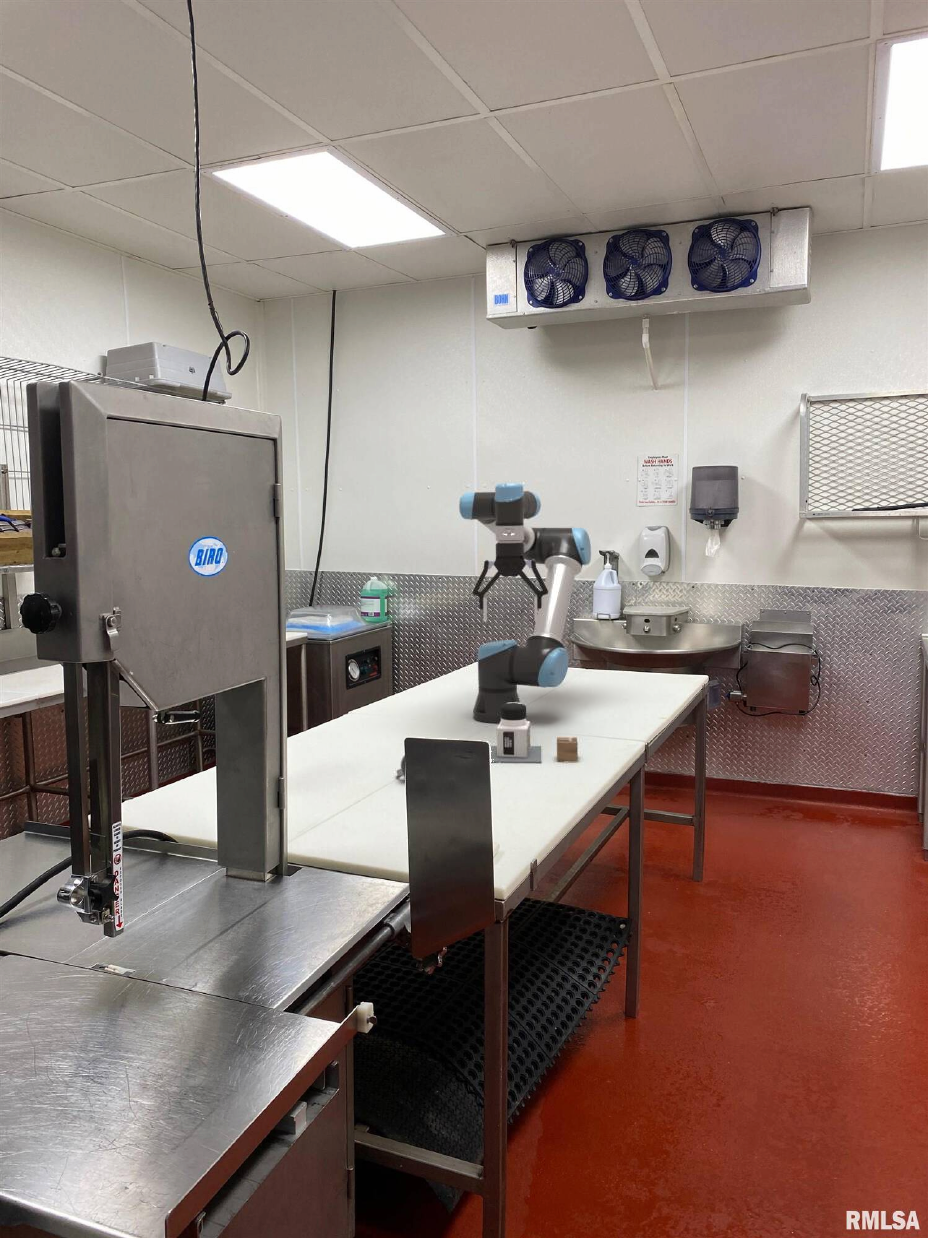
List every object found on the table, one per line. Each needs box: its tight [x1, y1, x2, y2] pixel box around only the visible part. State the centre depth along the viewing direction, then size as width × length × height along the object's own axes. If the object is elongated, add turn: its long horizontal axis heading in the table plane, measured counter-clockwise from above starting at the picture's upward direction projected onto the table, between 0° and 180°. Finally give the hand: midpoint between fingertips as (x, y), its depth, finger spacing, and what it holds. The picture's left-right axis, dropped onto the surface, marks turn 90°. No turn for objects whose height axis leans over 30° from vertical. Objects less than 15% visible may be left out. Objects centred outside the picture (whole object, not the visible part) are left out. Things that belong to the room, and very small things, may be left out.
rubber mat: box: [490, 745, 542, 764], centre depth 222 cm, size 14×14×1 cm
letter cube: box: [556, 736, 579, 763], centre depth 218 cm, size 5×5×5 cm
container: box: [496, 702, 531, 758], centre depth 221 cm, size 8×8×13 cm
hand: (510, 621), depth 233 cm, fingers open, 13 cm apart
